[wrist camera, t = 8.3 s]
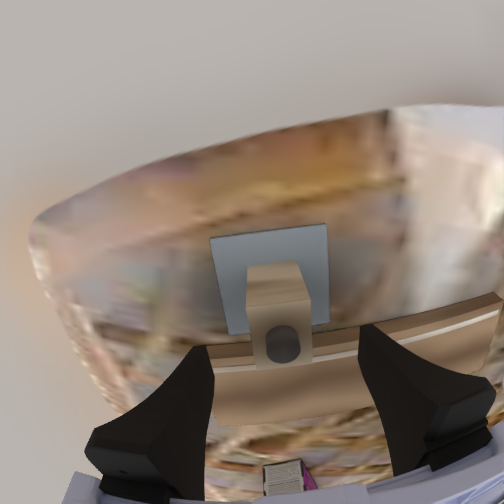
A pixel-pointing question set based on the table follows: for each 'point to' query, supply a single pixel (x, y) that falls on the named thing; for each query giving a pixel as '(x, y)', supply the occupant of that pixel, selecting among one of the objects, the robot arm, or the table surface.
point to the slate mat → (269, 251)
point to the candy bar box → (287, 478)
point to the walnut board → (345, 365)
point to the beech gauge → (279, 315)
